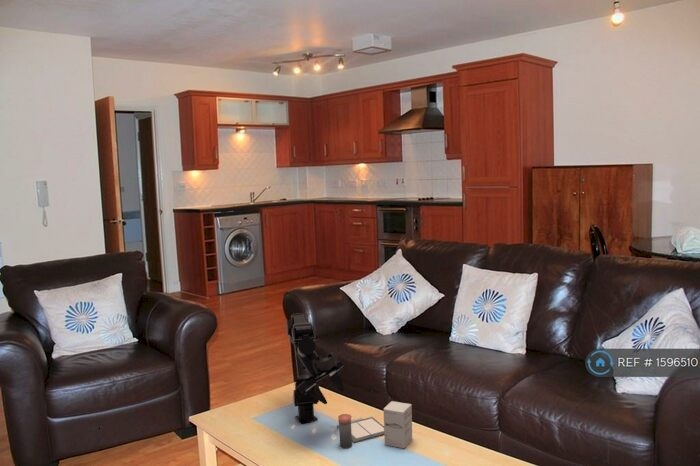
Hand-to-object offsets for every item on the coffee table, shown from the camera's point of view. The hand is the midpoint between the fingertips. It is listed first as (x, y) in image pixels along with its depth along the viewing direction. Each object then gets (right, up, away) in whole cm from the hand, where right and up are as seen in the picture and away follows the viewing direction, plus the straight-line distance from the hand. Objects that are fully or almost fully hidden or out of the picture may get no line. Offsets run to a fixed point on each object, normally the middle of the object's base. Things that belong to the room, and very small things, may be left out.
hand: (335, 397), depth 199 cm
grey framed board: (+10, -13, +7) cm, 18 cm away
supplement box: (+21, -14, -3) cm, 26 cm away
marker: (+4, -15, -3) cm, 16 cm away
